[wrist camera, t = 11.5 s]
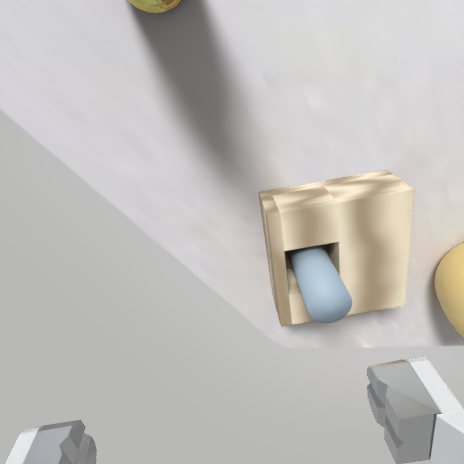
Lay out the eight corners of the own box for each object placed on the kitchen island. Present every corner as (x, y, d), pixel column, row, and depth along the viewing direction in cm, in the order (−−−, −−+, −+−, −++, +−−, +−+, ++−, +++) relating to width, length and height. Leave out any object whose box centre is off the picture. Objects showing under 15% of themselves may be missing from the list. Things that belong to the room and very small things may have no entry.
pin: (320, 229, 39) (352, 284, 30) (322, 259, 41) (352, 318, 32) (284, 236, 39) (306, 292, 31) (288, 265, 41) (309, 326, 33)
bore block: (386, 169, 38) (414, 189, 33) (381, 275, 45) (404, 305, 39) (258, 192, 39) (267, 215, 33) (272, 293, 45) (281, 326, 40)
